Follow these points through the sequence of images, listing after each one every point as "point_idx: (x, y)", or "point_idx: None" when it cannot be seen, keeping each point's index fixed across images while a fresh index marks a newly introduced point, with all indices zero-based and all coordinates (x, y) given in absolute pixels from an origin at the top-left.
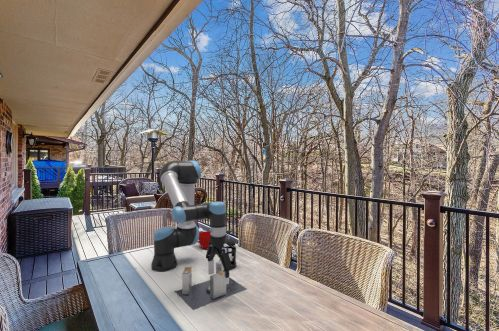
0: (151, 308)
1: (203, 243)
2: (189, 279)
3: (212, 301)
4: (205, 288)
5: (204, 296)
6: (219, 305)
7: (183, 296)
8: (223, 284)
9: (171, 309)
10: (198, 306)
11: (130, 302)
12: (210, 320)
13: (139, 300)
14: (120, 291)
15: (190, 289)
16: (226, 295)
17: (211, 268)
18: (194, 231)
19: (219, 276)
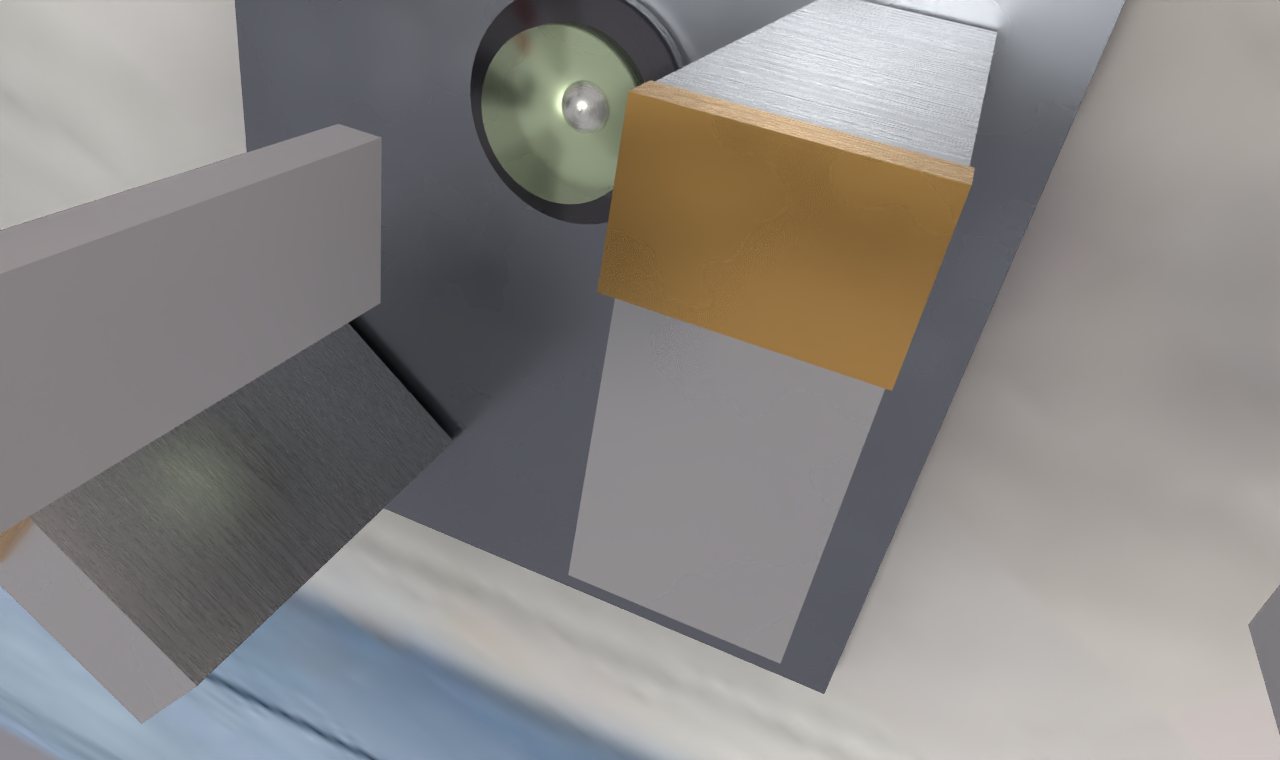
0: (419, 732)
1: None
2: (257, 526)
3: (911, 402)
4: (456, 129)
5: None
6: (1073, 350)
7: (447, 501)
8: (1267, 638)
9: (569, 690)
10: (819, 604)
11: (226, 717)
12: (1212, 723)
13: (232, 672)
14: (22, 626)
15: (357, 348)
16: (1025, 47)
17: (241, 296)
18: None
19: (852, 470)
